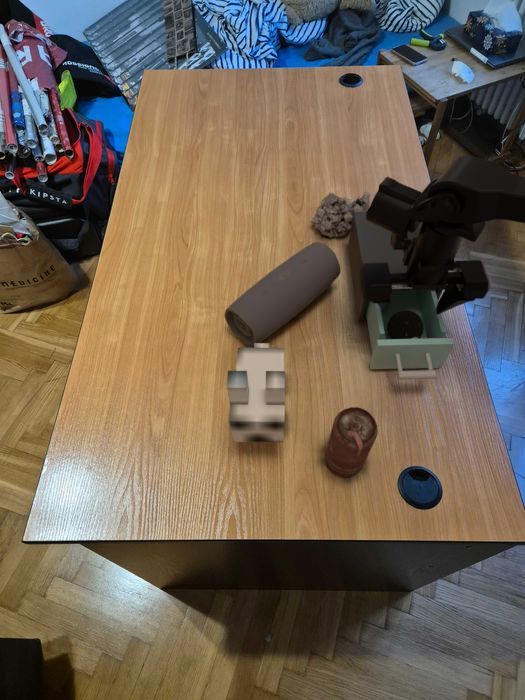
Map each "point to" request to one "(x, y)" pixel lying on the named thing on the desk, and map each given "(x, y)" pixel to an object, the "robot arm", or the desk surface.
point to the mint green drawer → (409, 351)
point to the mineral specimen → (338, 214)
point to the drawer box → (372, 255)
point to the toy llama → (257, 395)
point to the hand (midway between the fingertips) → (410, 312)
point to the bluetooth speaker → (282, 293)
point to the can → (350, 441)
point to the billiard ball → (405, 325)
